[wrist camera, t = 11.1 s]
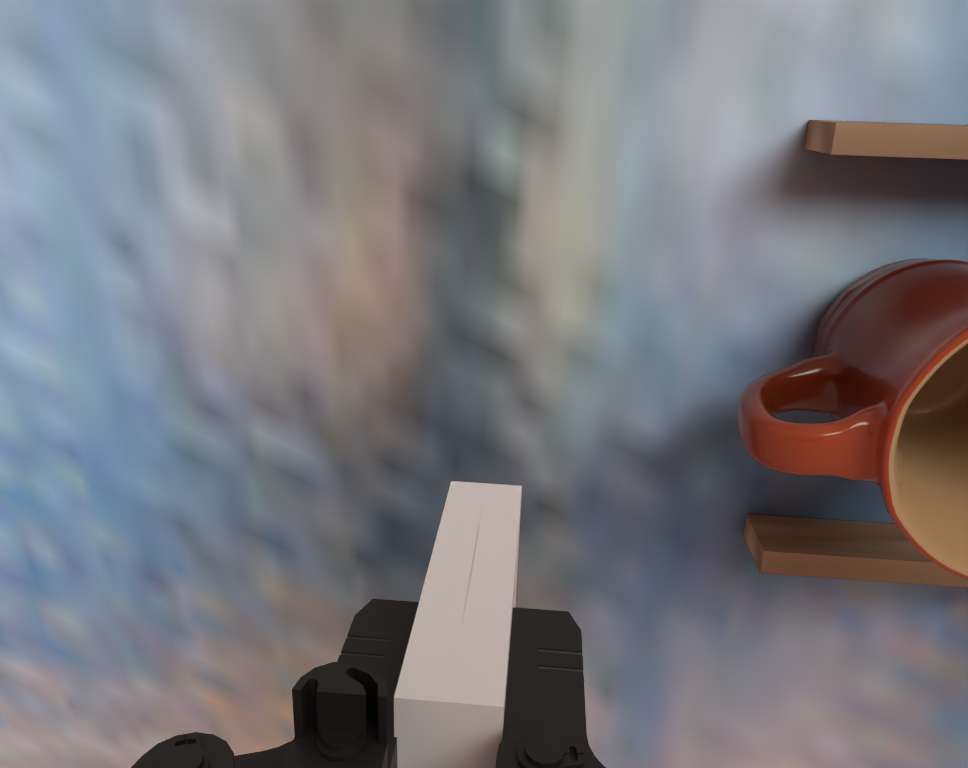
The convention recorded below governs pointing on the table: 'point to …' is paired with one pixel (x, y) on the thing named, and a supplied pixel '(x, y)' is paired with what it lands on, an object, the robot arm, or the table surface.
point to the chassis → (843, 542)
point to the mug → (883, 402)
